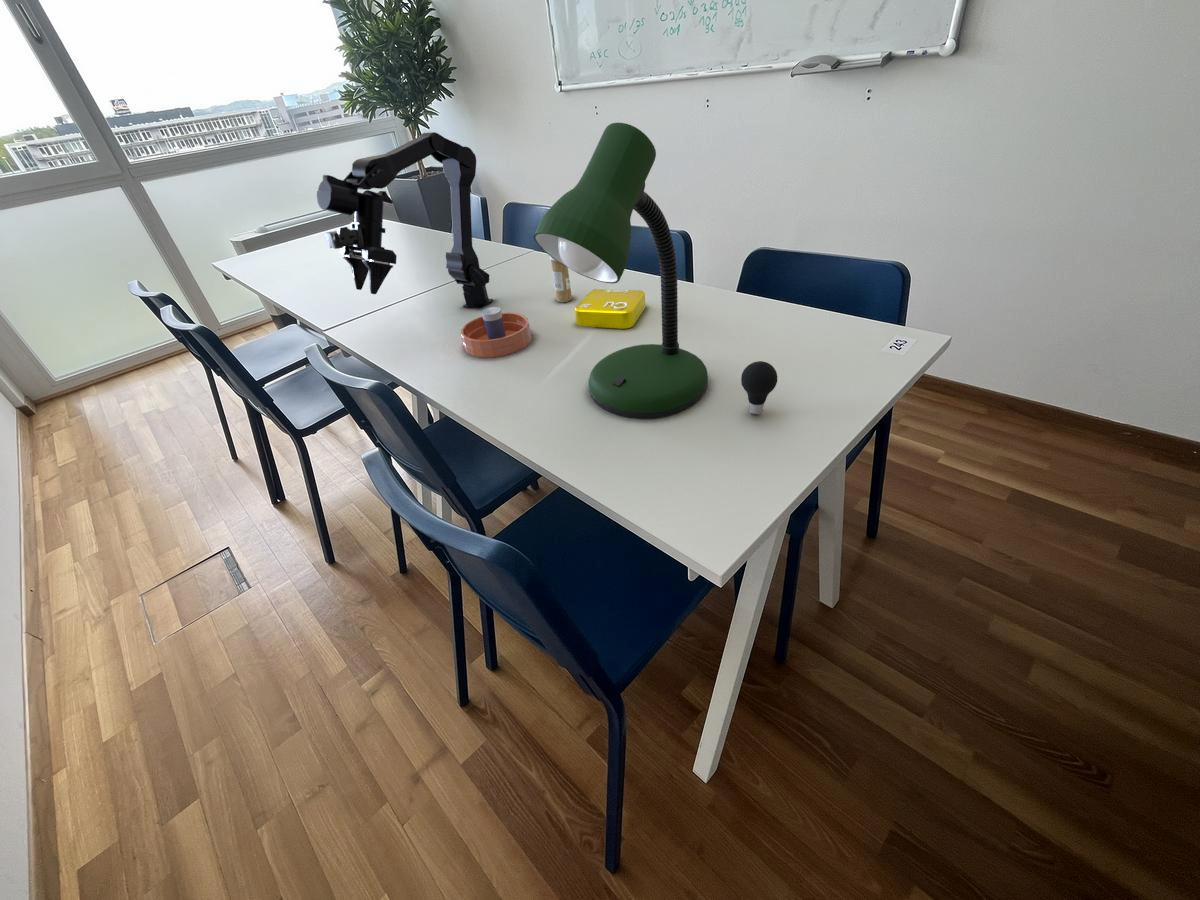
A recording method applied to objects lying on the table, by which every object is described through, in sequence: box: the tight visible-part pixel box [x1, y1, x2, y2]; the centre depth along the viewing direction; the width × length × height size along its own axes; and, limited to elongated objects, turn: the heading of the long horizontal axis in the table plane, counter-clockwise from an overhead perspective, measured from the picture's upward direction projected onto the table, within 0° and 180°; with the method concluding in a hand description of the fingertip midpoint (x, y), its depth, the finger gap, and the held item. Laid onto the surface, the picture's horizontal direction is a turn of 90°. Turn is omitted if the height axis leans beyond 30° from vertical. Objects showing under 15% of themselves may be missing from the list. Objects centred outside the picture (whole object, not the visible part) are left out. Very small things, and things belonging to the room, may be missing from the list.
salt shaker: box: [481, 306, 506, 340], centre depth 122 cm, size 5×5×8 cm
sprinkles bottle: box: [549, 255, 573, 303], centre depth 140 cm, size 5×5×13 cm
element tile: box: [574, 288, 646, 330], centre depth 130 cm, size 15×15×5 cm
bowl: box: [460, 312, 533, 359], centre depth 124 cm, size 16×16×4 cm
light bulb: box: [740, 360, 778, 416], centre depth 88 cm, size 6×6×10 cm
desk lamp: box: [533, 122, 709, 420], centre depth 86 cm, size 31×23×45 cm
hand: (365, 291), depth 120 cm, fingers open, 9 cm apart
